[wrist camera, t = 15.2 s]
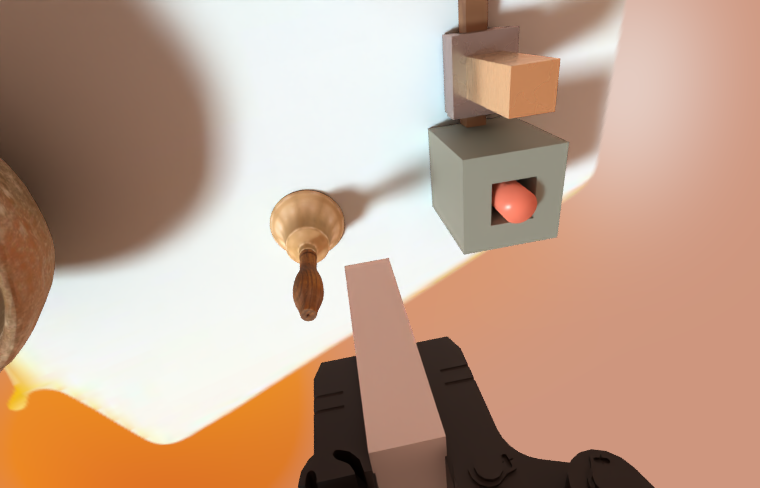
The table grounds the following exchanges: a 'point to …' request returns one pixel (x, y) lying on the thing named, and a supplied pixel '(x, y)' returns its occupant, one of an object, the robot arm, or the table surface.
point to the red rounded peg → (513, 201)
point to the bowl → (21, 264)
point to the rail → (470, 20)
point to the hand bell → (307, 241)
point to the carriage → (496, 75)
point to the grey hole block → (495, 180)
